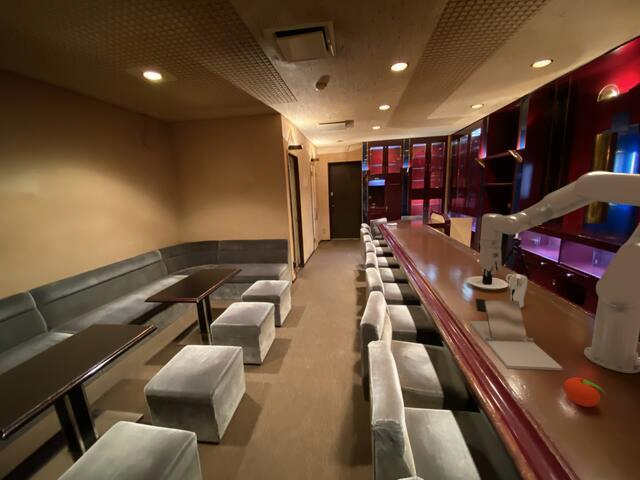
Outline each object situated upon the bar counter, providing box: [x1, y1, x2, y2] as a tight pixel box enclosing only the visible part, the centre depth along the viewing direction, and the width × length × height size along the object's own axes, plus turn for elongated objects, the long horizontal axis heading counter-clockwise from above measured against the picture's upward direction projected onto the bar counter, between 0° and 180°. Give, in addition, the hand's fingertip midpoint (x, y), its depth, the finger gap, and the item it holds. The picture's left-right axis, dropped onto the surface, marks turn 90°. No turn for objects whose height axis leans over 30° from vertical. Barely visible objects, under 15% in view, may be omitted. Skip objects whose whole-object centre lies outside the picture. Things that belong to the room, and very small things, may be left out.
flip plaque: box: [484, 300, 528, 339], centre depth 101 cm, size 14×12×1 cm
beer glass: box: [508, 273, 528, 309], centre depth 128 cm, size 7×7×15 cm
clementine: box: [563, 376, 607, 408], centre depth 70 cm, size 8×7×7 cm
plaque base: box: [469, 320, 563, 372], centre depth 99 cm, size 30×16×2 cm, turn 172°
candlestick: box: [466, 258, 513, 291], centre depth 151 cm, size 21×25×28 cm
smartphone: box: [475, 298, 491, 313], centre depth 130 cm, size 7×1×15 cm
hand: (486, 284), depth 114 cm, fingers closed
